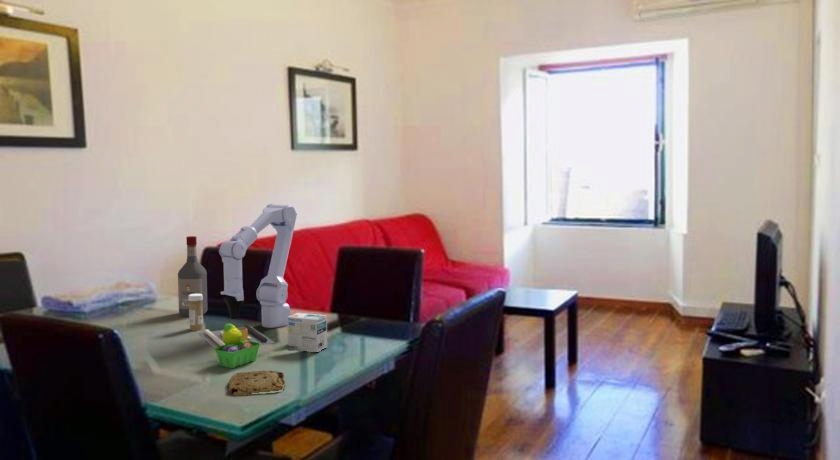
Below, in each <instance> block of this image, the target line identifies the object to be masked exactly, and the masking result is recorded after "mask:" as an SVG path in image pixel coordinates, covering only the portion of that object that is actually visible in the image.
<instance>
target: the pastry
mask: <svg viewBox="0 0 840 460" xmlns="http://www.w3.org/2000/svg"><path fill="white" fill-rule="evenodd" d="M228 383H229V387H228V394H229V395H230V396H233V397H235V396H237V397H239V396H246V395H245V394H252V393H259V392H270V391H279V390H282V389H283V388H284V386H285V387H286V382H285V375H284V372H281V371H276V370H253V371H252V370H251V371H241V372H236V373H235V374H233V375H232V376H231V377H230V379H229V380H228Z"/></svg>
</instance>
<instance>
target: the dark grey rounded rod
mask: <svg viewBox="0 0 840 460" xmlns="http://www.w3.org/2000/svg"><path fill="white" fill-rule="evenodd" d="M243 327H245V328H247V329H248V331H249V332H251V333H252V334H253V335H255V336H256V337H258V338H259V339H261V340H262V341H263V342H267V340H268V339H267V338H266V337H267V336H266V337H264V336H263V335H264V334H263V335H261V334H260V333H261V332H260V333H258V332H257V331H258V330H257V331H255V330H254V329H255V328H254V329H252V328H251V327H252V326H251V327H249V325H248V324H244V325H243Z"/></svg>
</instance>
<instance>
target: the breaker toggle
mask: <svg viewBox="0 0 840 460" xmlns="http://www.w3.org/2000/svg"><path fill="white" fill-rule="evenodd" d="M236 328H237V329H238V330H239V331H240V332H241V333H242V337H241V340H248V329H247V328H245V327H244V326H240V327H236Z"/></svg>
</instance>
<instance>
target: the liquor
mask: <svg viewBox="0 0 840 460" xmlns="http://www.w3.org/2000/svg"><path fill="white" fill-rule="evenodd" d="M185 241H186V262H185V263H184V264H183V265H182V267H181V268H180V269H179V270H178V273H177V285H178V286H177V289H178V293H177V294H178V296H177V297H178V314H179V315H180V316H182V317H189V300H188V296H189V295H190V294H202V295H203V300H202V310H203V315H204V314H206V313H207V311H208V279H207V278H208V276H207V275H208V273H207V269H206V268H205V267H204V266H203V265H202V264H201V263H200V262H199V259H198V256H197V255H198V253H197V245H198V244H197V243H198V242H197V236H196V235H195V236H193V235H189V236H186V239H185Z"/></svg>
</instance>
